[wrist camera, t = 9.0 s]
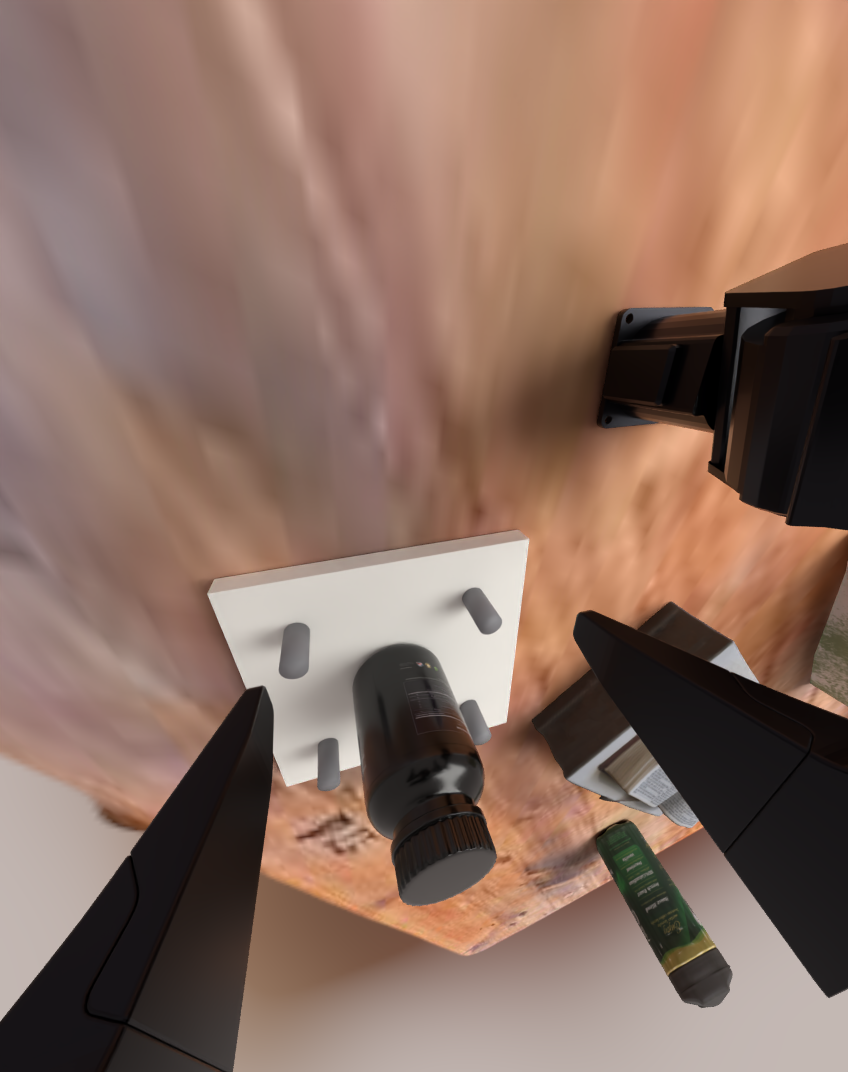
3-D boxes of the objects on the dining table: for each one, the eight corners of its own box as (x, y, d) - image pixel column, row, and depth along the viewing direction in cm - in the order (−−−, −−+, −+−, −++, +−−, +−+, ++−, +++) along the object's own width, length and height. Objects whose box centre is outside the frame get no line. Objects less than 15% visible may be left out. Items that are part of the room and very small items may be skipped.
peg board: (518, 529, 25) (555, 561, 21) (499, 708, 34) (522, 753, 30) (214, 579, 20) (189, 630, 17) (288, 768, 30) (283, 829, 26)
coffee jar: (589, 836, 58) (692, 1018, 42) (630, 813, 58) (748, 986, 42) (597, 852, 63) (691, 1021, 47) (635, 831, 63) (741, 992, 47)
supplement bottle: (413, 711, 28) (465, 911, 18) (335, 698, 26) (346, 929, 15) (456, 650, 27) (543, 836, 16) (379, 629, 24) (424, 840, 13)
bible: (592, 782, 49) (648, 871, 41) (514, 705, 35) (575, 815, 27) (732, 689, 47) (822, 761, 39) (708, 570, 34) (839, 641, 25)
